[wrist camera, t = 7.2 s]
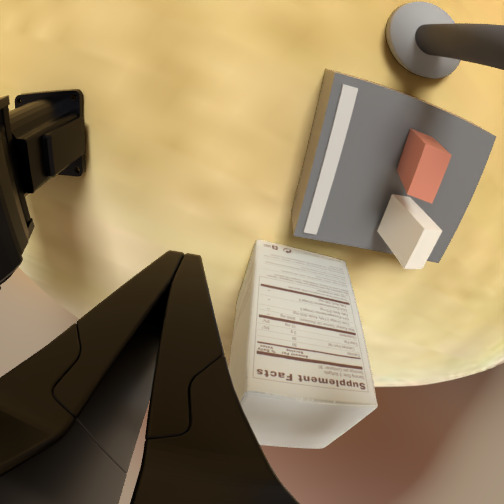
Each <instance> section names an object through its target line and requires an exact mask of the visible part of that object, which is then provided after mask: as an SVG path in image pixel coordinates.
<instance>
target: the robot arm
mask: <svg viewBox="0 0 504 504" xmlns="http://www.w3.org/2000/svg"><path fill="white" fill-rule="evenodd" d="M74 94H76V96H77V99H75V98H74ZM20 99H21V102H20ZM9 104H10V103H9V95H8V96H4V97H1V98H0V285H1V284H2V283H4V282H5V281H6V280H7V279H8V278H9V277H10V276H11V275H12V274H13V272H14V271H15V270H16V269H17V268H18V266H19V265H20V264H21V262H22V260H23V258H22V254H23V251H24V249H25V247H26V245H27V243H28V240H29V237H30V235H31V233H32V231H33V229H34V223H33V220H32V218H30V214H29V211H28V207H27V203H26V200H25V196H26V195H28V194H29V193H34V192H35V191H36V190H37V189H38V188H39V187H41V186H42V185H43V184H44V183H45V182H47V181H48V180H49V179H50V178H51V177H55V176H56V175H57V174H58V175H69V176H81V175H82V174H83V173H84V172H85V156H84V153H85V136H84V119H83V95H82V92H81V91H80V90H79V89H71V90H56V91H44V92H35V93H26V94H21V95H18V96H17V97H16V98H15V109H14V110H11V111H9V109H8V105H9ZM77 167H79V169H80V171H79V170H78V169H77ZM0 289H1V287H0ZM149 401H150V405H149V411H148V419H147V427H146V435H145V439H146V441H145V444H144V453H143V458H142V463H141V468H140V472H139V475H138V478H137V482H136V486H135V489H134V492H133V496H132V499H131V502H130V504H300V503H299V502H298V501H297V500H296V499H295V498H294V497H293V496H292V495H291V494H290V493H289V491H288V490H287V489H286V488H285V487H284V486H283V484H282V483H281V482H280V480H279V479H278V477H277V476H276V474H275V473H274V471H273V469H272V468H271V466H270V464H269V462H268V460H267V459H266V457H265V455H264V453H263V451H262V449H261V447H260V444H259V442H258V440H257V438H256V436H255V434H254V432H253V430H252V428H251V426H250V424H249V422H248V420H247V417H246V415H245V413H244V411H243V409H242V406H241V404H240V401H239V399H238V396H237V394H236V391H235V389H234V385H233V382H232V379H231V376H230V373H229V369H228V365H227V362H226V358H225V357H224V351H223V347H222V343H221V339H220V335H219V331H218V327H217V323H216V319H215V315H214V311H213V306H212V302H211V298H210V294H209V289H208V285H207V281H206V276H205V272H204V267H203V263H202V258H201V256H200V255H195V254H189V253H187V254H185V255H184V253H183V252H177V251H168V252H166V253H165V254H163V255H162V256H161V257H159V258H158V259H157V260H155V261H154V262H153V263H151V264H150V265H149V266H147V267H146V268H145V269H143V270H142V271H141V272H139V273H138V274H137V275H135V276H134V277H133V278H132V279H130V280H129V281H128V282H126V283H125V284H124V285H122V286H121V287H120V288H119V289H117V290H116V291H115V292H113V293H112V294H111V295H110V296H108V297H107V298H106V299H104V300H103V301H102V302H101V303H99V304H98V305H97V306H96V307H94V308H93V309H92V310H91V311H89V312H88V313H87V314H86V315H84V316H83V317H82V318H81V319H79V320H78V321H77V324H73V325H72V326H71V327H70V328H68V329H67V330H66V331H65V332H63V333H62V334H61V335H59V336H58V337H57V338H56V339H54V340H53V341H52V342H51V343H49V344H48V345H47V346H45V347H44V348H42V349H41V350H40V351H38V352H37V353H35V354H34V355H33V356H31V357H30V358H28V359H27V360H25V361H24V362H22V363H21V364H19V365H18V366H16V367H15V368H14V369H12V370H11V371H9V372H8V373H6V374H5V375H4V376H2V377H1V378H0V504H118V503H119V499H120V496H121V493H122V489H123V486H124V482H125V478H126V473H127V471H128V468H129V464H130V461H131V458H132V454H133V451H134V448H135V444H136V441H137V438H138V435H139V432H140V428H141V425H142V422H143V419H144V416H145V413H146V409H147V407H148V404H149Z"/></svg>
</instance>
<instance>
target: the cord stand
mask: <svg viewBox="0 0 504 504" xmlns="http://www.w3.org/2000/svg"><path fill="white" fill-rule="evenodd" d="M386 38H387V43H388V46H389V48H390V51H391V53H392V54H393V56H394V57H395V59H396V60H397V61H398V62H399V64H401V65H402V66H403V67H404V68H405V69H406V70H408V71H410V72H412V73H414V74H416V75H420V76H423V77H427V78H442V77H445V76H447V75H449V74H451V73H452V72H453V71H454V70H455V69H456V68H457V66H458V65H459V63H460V60H463V61H468V62H473V63H478V64H482V65H486V66H491V67H495V68H498V69H502V70H504V26H503V25H490V24H455V22H454V21H453V20H452V18H451V17H450V16H449V15H448V14H447V13H446V12H445V11H443V10H442V9H441V8H439V7H437V6H435V5H433V4H431V3H427V2H412V3H408V4H404V5H401V6H400V7H398V8H397V9H395V10H394V11H393V12H392V14H391V15H390V17H389V19H388V22H387V26H386Z"/></svg>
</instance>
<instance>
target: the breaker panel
mask: <svg viewBox="0 0 504 504" xmlns="http://www.w3.org/2000/svg"><path fill="white" fill-rule="evenodd" d="M410 128H411V129H414V130H416V131H419V132H421V133H424V134H426V135H429V136H431V137H433V138H434V139H435V140H436V141H437V142H439V143H440V144H441V145H442V146H443V147H444V148H445V149H446V150H447V151H448V152H449V153H450V154H451V155H452V156H451V158H450V161H449V164H448V166H447V169H446V172H445V174H444V177H443V179H442V182H441V184H440V186H439V189H438V191H437V194H436V196H435V198H434V201H433V203H432V204H431V203H429V202H426V201H424V200H421V199H418V198H416V197H413V196H410V195H408V194H407V193H406V191H405V188H404V186H403V184H402V181H401V179H400V177H399V174H398V172H397V167H398V164H399V161H400V158H401V156H402V153H403V150H404V147H405V144H406V141H407V138H408V134H409V131H410ZM495 138H496V136H494V135H492V134H491V133H489V132H487V131H486V130H484V129H482V128H480V127H479V126H477V125H475V124H473V123H471V122H469V121H467V120H465V119H463V118H461V117H459V116H457V115H455V114H453V113H451V112H448V111H446V110H444V109H442V108H440V107H437V106H435V105H433V104H430V103H428V102H425V101H423V100H421V99H418V98H416V97H413V96H410V95H408V94H405V93H402V92H400V91H397V90H394V89H391V88H389V87H386V86H383V85H380V84H377V83H374V82H370V81H367V80H364V79H361V78H357V77H354V76H351V75H347V74H343V73H340V72H336V71H332V70H328V69H325V74H324V78H323V83H322V87H321V92H320V96H319V101H318V105H317V109H316V114H315V118H314V122H313V126H312V131H311V135H310V139H309V143H308V147H307V151H306V156H305V160H304V164H303V168H302V172H301V176H300V180H299V184H298V188H297V192H296V196H295V200H294V204H293V208H292V224H293V235H294V236H297V237H302V238H308V239H314V240H319V241H325V242H331V243H336V244H342V245H347V246H353V247H358V248H363V249H369V250H374V251H379V252H385V253H390V254H393V252H392V251H391V250H390V248H389V247H388V245H387V244H386V243H385V241H384V240H383V238H382V237H381V236H380V234H379V233H378V232H377V230H378V228H379V225H380V223H381V220H382V218H383V216H384V213H385V211H386V208H387V206H388V203H389V201H390V198H391V195H392V194H395V195H401V196H407V197H410V198H411V199H412V200H413V201H414V202H415V203H416V204H417V205H418V206H419V207H420V208H421V209H422V210H423V211H424V212H425V213H426V214H427V215H428V216H429V217H430V218H431V219H432V220H433V221H434V222H435V223H436V225H437V226H438V227H439V228H440V229H441V230H442V233H441V235H440V236H439V238H438V240H437V242H436V244H435V246H434V248H433V250H432V252H431V254H430V256H429V257H428V259H427V261H431V262H436V263H439V261H440V260H441V258H442V256H443V254H444V252H445V250H446V249H447V247H448V245H449V243H450V241H451V239H452V237H453V235H454V233H455V232H456V230H457V228H458V226H459V224H460V222H461V220H462V217H463V215H464V213H465V211H466V209H467V207H468V205H469V203H470V200H471V198H472V196H473V194H474V192H475V189H476V187H477V185H478V182H479V180H480V177H481V175H482V173H483V170H484V168H485V165H486V163H487V160H488V157H489V155H490V152H491V149H492V147H493V144H494V141H495Z"/></svg>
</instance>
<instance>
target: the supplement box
mask: <svg viewBox="0 0 504 504" xmlns="http://www.w3.org/2000/svg"><path fill="white" fill-rule="evenodd" d="M229 373H230V376H231V379H232V382H233V385H234V389H235V391H236V394H237V396H238V399H239V401H240V404H241V406H242V409H243V411H244V413H245V415H246V417H247V420H248V422H249V424H250V426H251V428H252V430H253V432H254V434H255V436H256V438H257V440H258V442H259V444H260V445H268V446H280V447H294V448H317V449H319V448H324V447H326V446H327V445H328V444H330V443H331V442H333V441H334V440H335V439H337V438H338V437H339V436H341V435H342V434H343V433H345V432H346V431H348V430H349V429H350V428H351V427H353V426H354V425H355V424H356V423H358V422H359V421H361V420H362V419H363V418H364V417H366V416H367V415H368V414H369V413H371V412H372V411H373V410H375V409H376V407H378V405H377V400H376V395H375V389H374V382H373V377H372V372H371V368H370V362H369V357H368V352H367V347H366V342H365V338H364V333H363V329H362V324H361V320H360V316H359V312H358V308H357V303H356V299H355V295H354V291H353V288H352V284H351V280H350V276H349V273H348V269H347V265H346V262H345V261H344V260H340V259H337V258H333V257H330V256H325V255H322V254H318V253H314V252H309V251H306V250H302V249H297V248H293V247H289V246H285V245H281V244H277V243H272V242H268V241H264V240H256V243H255V246H254V248H253V251H252V254H251V257H250V260H249V264H248V267H247V270H246V273H245V277H244V280H243V283H242V287H241V290H240V293H239V297H238V300H237V303H236V313H235V321H234V329H233V338H232V345H231V353H230V361H229Z"/></svg>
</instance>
